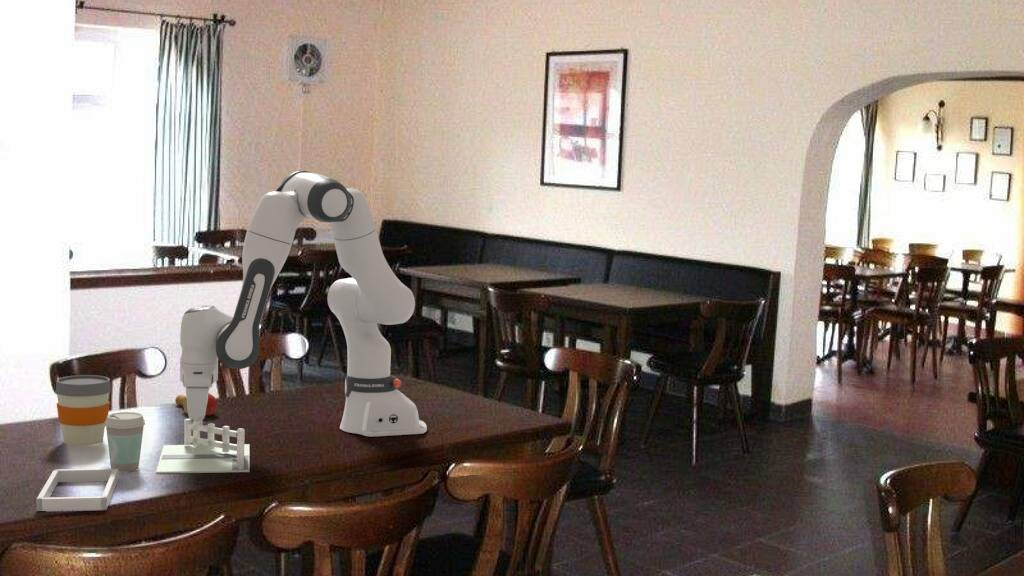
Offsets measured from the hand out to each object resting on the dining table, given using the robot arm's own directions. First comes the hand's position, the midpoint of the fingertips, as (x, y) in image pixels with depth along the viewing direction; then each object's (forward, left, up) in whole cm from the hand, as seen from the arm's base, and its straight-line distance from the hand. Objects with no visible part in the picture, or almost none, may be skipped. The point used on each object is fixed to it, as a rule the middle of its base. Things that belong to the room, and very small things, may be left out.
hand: (198, 429), depth 293 cm
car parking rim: (+22, +41, -4) cm, 47 cm away
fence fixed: (-10, +20, -3) cm, 22 cm away
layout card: (-2, +13, -4) cm, 14 cm away
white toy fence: (-4, +8, -3) cm, 9 cm away
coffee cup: (+15, +21, -4) cm, 26 cm away
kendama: (+2, -38, -4) cm, 38 cm away
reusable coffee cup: (+27, -5, -4) cm, 28 cm away
